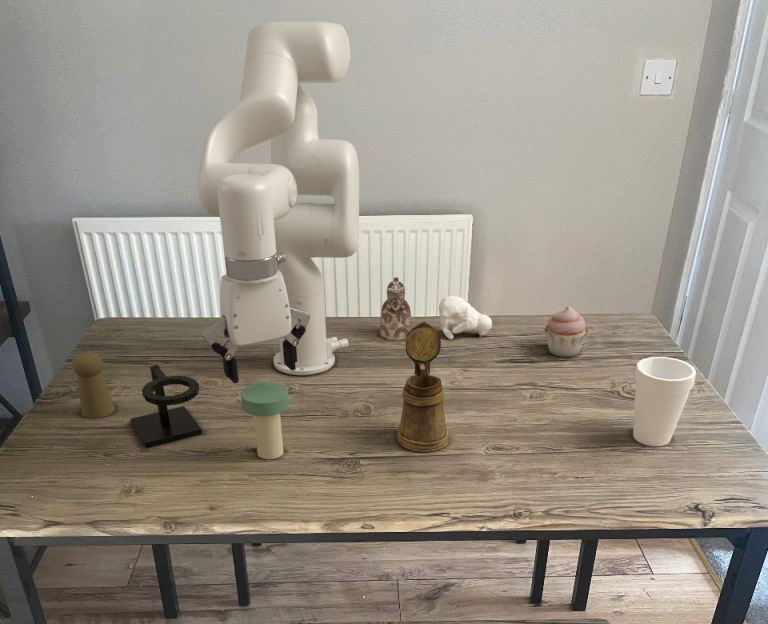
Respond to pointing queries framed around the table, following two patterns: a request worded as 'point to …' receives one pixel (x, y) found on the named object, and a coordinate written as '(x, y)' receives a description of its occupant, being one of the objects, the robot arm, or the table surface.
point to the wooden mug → (423, 395)
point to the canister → (266, 415)
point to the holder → (166, 411)
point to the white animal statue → (461, 317)
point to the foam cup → (660, 398)
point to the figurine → (395, 313)
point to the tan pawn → (92, 386)
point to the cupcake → (565, 333)
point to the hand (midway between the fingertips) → (262, 373)
